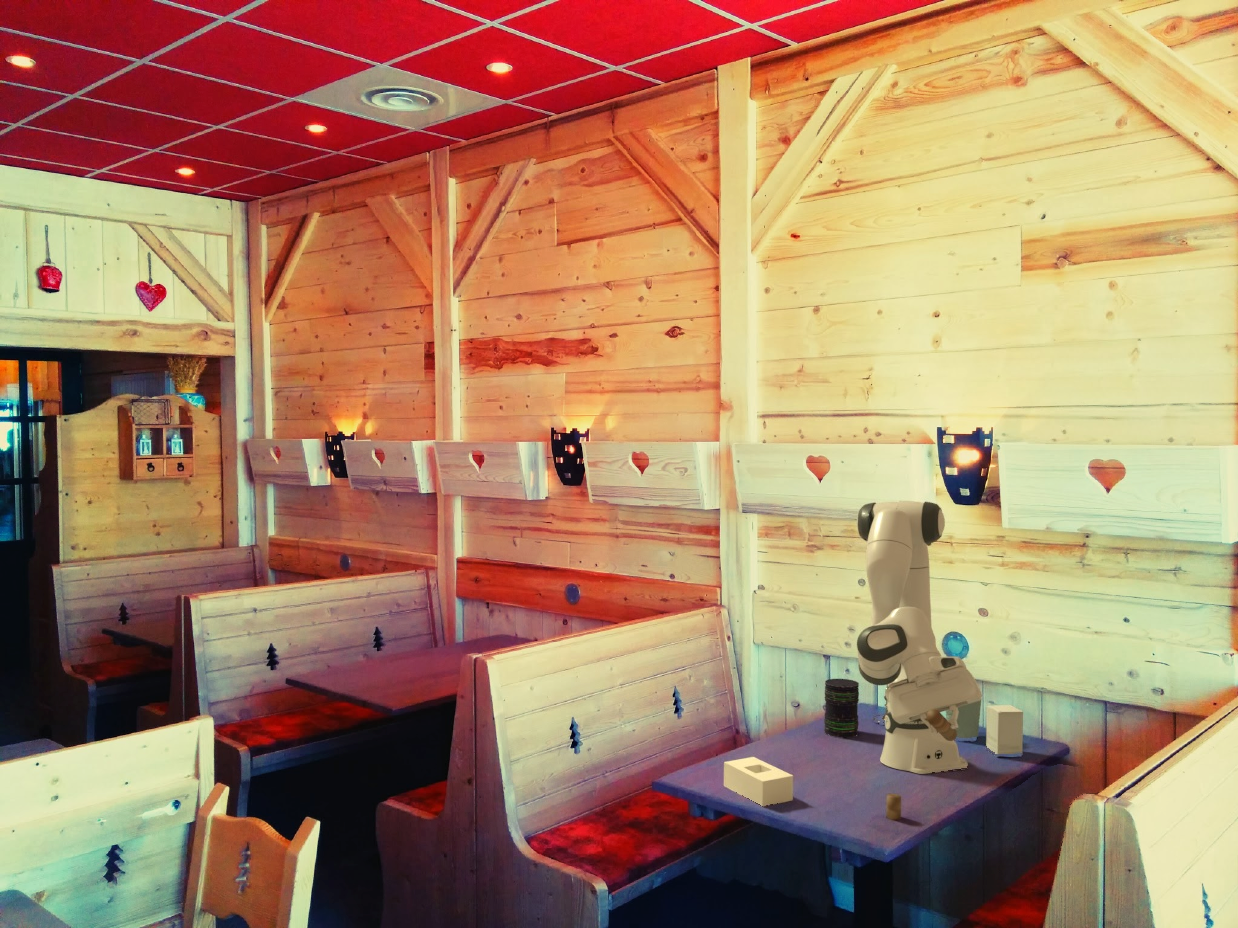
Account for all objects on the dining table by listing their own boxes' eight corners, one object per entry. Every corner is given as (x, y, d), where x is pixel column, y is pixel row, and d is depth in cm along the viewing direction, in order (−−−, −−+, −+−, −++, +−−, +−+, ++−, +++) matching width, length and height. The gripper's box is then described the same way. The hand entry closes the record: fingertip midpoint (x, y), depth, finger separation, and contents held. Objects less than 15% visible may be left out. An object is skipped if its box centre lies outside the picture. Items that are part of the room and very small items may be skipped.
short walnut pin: (897, 814, 240) (897, 793, 240) (903, 819, 237) (903, 798, 237) (884, 815, 240) (884, 793, 239) (889, 820, 236) (890, 798, 236)
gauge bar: (753, 780, 263) (753, 756, 263) (792, 800, 249) (793, 775, 249) (723, 785, 258) (723, 761, 258) (762, 806, 244) (762, 781, 244)
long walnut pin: (930, 706, 225) (947, 724, 236) (923, 719, 224) (940, 736, 236) (943, 713, 223) (959, 731, 234) (936, 726, 222) (953, 743, 234)
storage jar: (821, 727, 309) (821, 678, 309) (854, 728, 309) (854, 678, 309) (827, 737, 299) (828, 686, 299) (861, 738, 299) (862, 686, 299)
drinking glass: (984, 736, 302) (985, 695, 301) (975, 745, 293) (975, 703, 293) (949, 730, 307) (950, 690, 307) (939, 738, 299) (939, 697, 299)
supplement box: (1023, 757, 283) (1024, 711, 282) (996, 757, 282) (997, 711, 282) (1010, 749, 290) (1011, 704, 290) (985, 749, 290) (986, 704, 289)
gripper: (878, 682, 239) (895, 740, 231) (966, 654, 232) (986, 713, 224) (886, 689, 243) (903, 746, 236) (972, 663, 237) (992, 721, 229)
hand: (944, 730), depth 230 cm, fingers closed on long walnut pin, 3 cm apart
